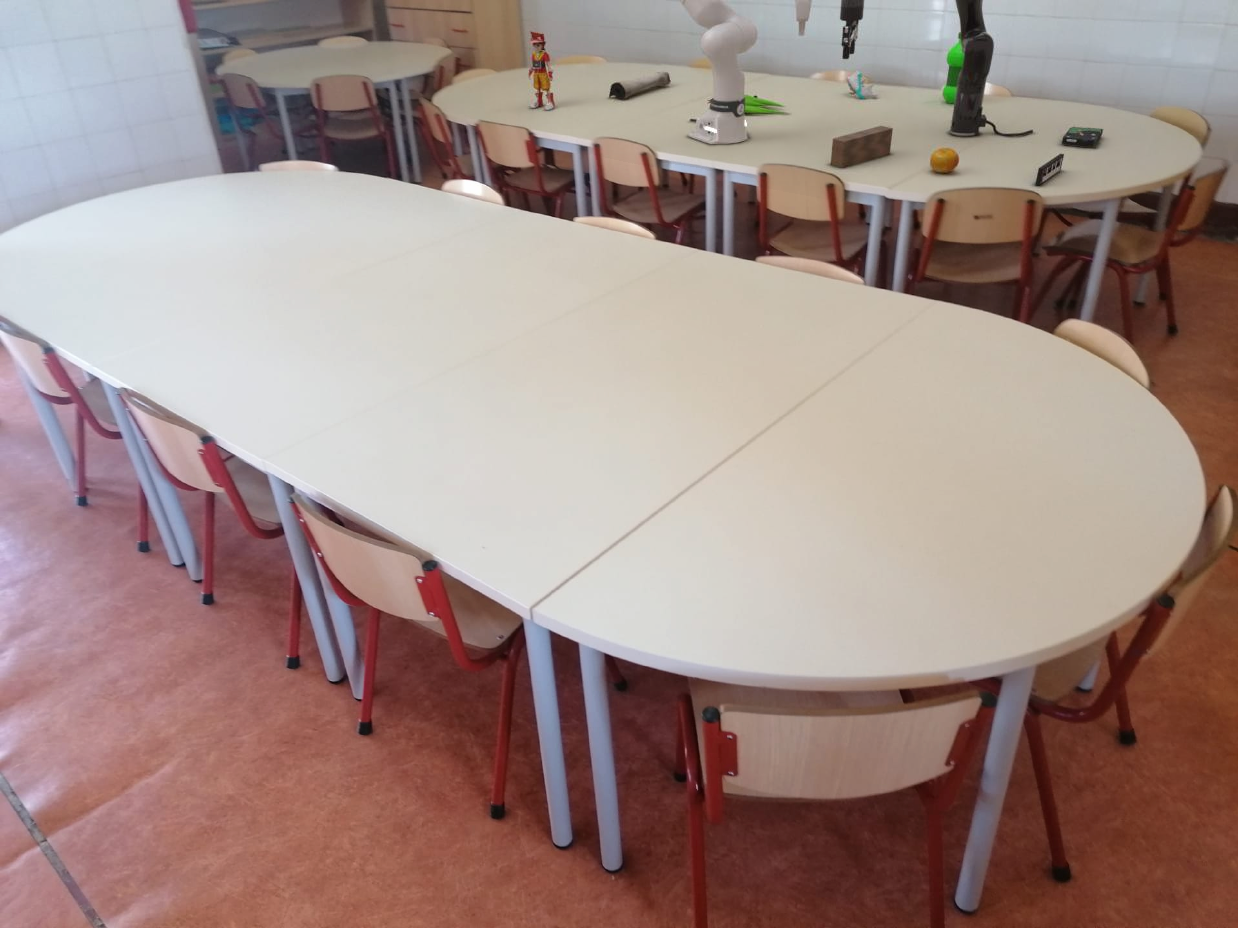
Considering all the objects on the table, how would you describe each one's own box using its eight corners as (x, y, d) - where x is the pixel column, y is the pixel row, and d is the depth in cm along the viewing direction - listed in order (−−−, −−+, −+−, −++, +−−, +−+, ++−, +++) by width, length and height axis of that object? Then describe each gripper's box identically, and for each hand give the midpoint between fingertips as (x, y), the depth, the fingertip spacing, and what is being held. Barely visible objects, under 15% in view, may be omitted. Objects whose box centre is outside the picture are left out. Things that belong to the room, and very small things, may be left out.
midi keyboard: (1039, 185, 269) (1043, 168, 266) (1035, 184, 270) (1038, 168, 267) (1060, 170, 279) (1064, 154, 277) (1056, 169, 280) (1060, 153, 277)
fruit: (924, 163, 281) (941, 140, 278) (925, 165, 289) (941, 143, 286) (946, 178, 280) (963, 155, 277) (947, 180, 288) (963, 158, 285)
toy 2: (703, 112, 356) (773, 124, 344) (705, 98, 354) (775, 110, 341) (734, 102, 377) (800, 113, 364) (735, 89, 374) (802, 100, 361)
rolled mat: (651, 76, 408) (662, 61, 399) (662, 93, 408) (674, 79, 400) (605, 92, 391) (616, 77, 383) (617, 110, 391) (628, 95, 383)
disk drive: (1094, 148, 296) (1101, 136, 306) (1096, 140, 295) (1103, 128, 305) (1060, 145, 301) (1068, 133, 311) (1062, 137, 299) (1070, 125, 309)
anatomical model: (842, 70, 373) (865, 64, 372) (844, 96, 379) (868, 89, 378) (852, 78, 360) (877, 71, 360) (855, 104, 366) (879, 98, 366)
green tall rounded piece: (973, 101, 354) (984, 32, 339) (955, 106, 349) (966, 36, 335) (952, 97, 361) (962, 29, 346) (934, 102, 356) (944, 33, 342)
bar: (878, 151, 307) (881, 125, 302) (889, 154, 303) (892, 128, 298) (830, 164, 297) (832, 138, 292) (841, 168, 294) (844, 141, 289)
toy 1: (525, 109, 381) (517, 32, 364) (534, 104, 388) (527, 28, 371) (550, 110, 377) (543, 32, 360) (559, 105, 384) (553, 28, 367)
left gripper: (794, -20, 288) (791, 27, 296) (793, -11, 272) (791, 38, 280) (814, -21, 287) (811, 27, 295) (814, -12, 271) (811, 38, 279)
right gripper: (859, 7, 293) (855, 61, 302) (868, 1, 303) (863, 52, 312) (836, 7, 295) (832, 60, 304) (845, 1, 306) (841, 52, 315)
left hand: (801, 32), depth 287 cm, fingers open, 8 cm apart
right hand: (848, 56), depth 308 cm, fingers open, 8 cm apart
